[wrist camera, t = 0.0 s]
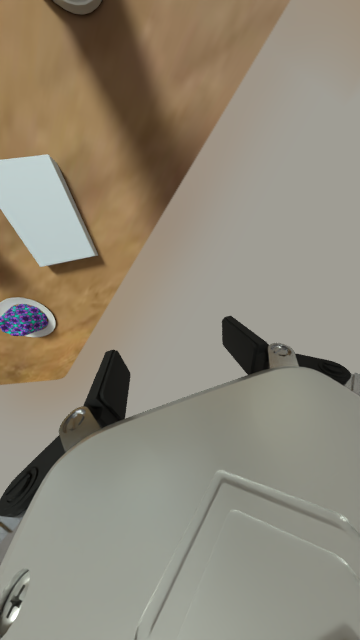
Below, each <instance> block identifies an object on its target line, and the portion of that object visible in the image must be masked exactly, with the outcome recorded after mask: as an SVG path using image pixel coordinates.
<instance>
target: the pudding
mask: <svg viewBox="0 0 360 640" xmlns="http://www.w3.org/2000/svg"><path fill="white" fill-rule="evenodd" d="M16 304H20V305H18V306H13V305H16ZM27 304H29V305H32V307H30V306H28V305H27ZM12 306H13V307H12ZM34 306H35V307H34ZM10 307H11V308H10ZM38 308H39V309H38ZM40 310H42V311H43V312H44V313H45V314H46V315H47V316H46V315H45V314H44V313H42V312H41V311H40ZM47 317H48V320H49V323H48V322H47V321H46V319H47ZM55 324H56V322H55V318H54V316H53V315H52V313H51V312H50V311H49V310H48V309H47V308H46V307H45V306H43V305H41V304H40V303H38V302H36V301H33V300H30V299H26V298H19V297H17V298H8V299H5V300H3V301H2V302H0V328H1V330H2V331H3V332H5V333H9V334H10V335H12V336H28V337H42V336H45V335H48V334H50V333H51V332H52V331H53V330H54V328H55ZM45 326H47V327H46V328H44V329H43V327H45ZM42 329H43V330H42Z"/></svg>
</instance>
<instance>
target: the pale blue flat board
mask: <svg viewBox="0 0 360 640" xmlns="http://www.w3.org/2000/svg"><path fill="white" fill-rule="evenodd" d="M0 209H1V210H2V212H3V213H4V215H5V216H6V217H7V219H8V220H9V222H10V223H11V225H12V226H13V228H14V229H15V231H16V232H17V234H18V235H19V236H20V238H21V239H22V241H23V242H24V244H25V245H26V247H27V248H28V250H29V251H30V253H31V254H32V255H33V257H34V258H35V260H36V261H37V263H38V264H39V266H40V267H42V266H49V265H54V264H59V263H64V262H69V261H74V260H78V259H83V258H88V257H93V256H98V253H97V251H96V249H95V247H94V244H93V242H92V240H91V238H90V236H89V233H88V231H87V229H86V227H85V224H84V222H83V220H82V218H81V216H80V213H79V211H78V209H77V207H76V204H75V202H74V200H73V198H72V196H71V193H70V191H69V189H68V187H67V184H66V182H65V180H64V178H63V176H62V173H61V171H60V169H59V167H58V164H57V163H56V162H55V161H54V160H53V159H52V158H51V157H50V156H49V155H40V156H31V157H22V158H13V159H4V160H0Z"/></svg>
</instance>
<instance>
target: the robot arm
mask: <svg viewBox="0 0 360 640" xmlns="http://www.w3.org/2000/svg"><path fill="white" fill-rule="evenodd" d="M53 1H54V2H55V3H56V4H58V5H59V6H61V7H62V8H63V9H65V10H67V11H70V12H72V13H74V14H87V13H90V12H92V11H93V10H95V9H96V8H97V7H98V6H99V4H100V3H101V1H102V0H53ZM222 335H223V337H222V340H223V345H224V347H225V348H226V349H227V350H228V352H229V353H230V354H231V355H232V356H233V357H234V359H235V360H236V361H237V362H238V363H239V365H240V366H241V367H242V368H243V370H244V371H245V372H246V373H247V374H248V375H247V376H244V377H241V378H238V379H236V380H233V381H230V382H227V383H224V384H221V385H218V386H215V387H213V388H209V389H207V390H204V391H201V392H198V393H195V394H192V395H190V396H187V397H184V398H181V399H178V400H176V401H173V402H170V403H167V404H165V405H162V406H159V407H156V408H153V409H150V410H148V411H145V412H142V413H140V414H137V415H134V416H132V417H129V418H126V419H125V413H126V405H127V397H128V390H129V382H130V372H129V370H128V368H127V366H126V365H125V363H124V361H123V359H122V358H121V356H120V354H119V353H118V351H115V350H110V351H107V352H106V353H105V355H104V358H103V360H102V363H101V365H100V368H99V370H98V372H97V374H96V377H95V379H94V381H93V384H92V386H91V389H90V391H89V394H88V396H87V399H86V401H85V403H84V406H82V407H79V408H77V409H75V410H73V411H72V412H71V413H70V414H69V415H68V416H67V417H66V418H65V419H64V421H63V422H62V424H61V425H60V428H59V436H58V437H57V438H56V439H55V440H54V441H53V442H52V443H51V444H50V445H49V446H48V447H46V448H45V450H43V451H42V452H41V453H40V454H39V455H38V456H37V457H36V458H35V459H34V460H33V461H32V462H31V463H30V464H29V465H28V466H27V467H26V468H25V469H24V470H23V471H22V472H21V473H20V474H19V475H18V476H17V477H16V478H15V479H14V480H13V481H12V482H11V484H10V485H9V486H8V488H7V489H6V490H5V492H4V494H3V496H2V497H1V499H0V640H360V374H357V373H355V374H351V373H350V372H349V371H348V370H347V369H346V368H345V367H343V366H342V365H340V364H338V363H335V362H332V361H329V360H324V359H319V358H314V357H310V356H305V355H300V354H295V352H294V351H293V349H292V348H290V347H289V346H287V345H284V344H281V343H273V344H270V345H268V344H267V343H266V342H265V341H264V340H263V339H261V338H260V337H258V336H257V335H256V334H254V333H253V332H252V331H251V330H249V329H248V328H247V327H245V326H244V325H243V324H241V323H240V322H238V321H237V320H236V319H234V318H233V317H232V316H228V317H225V318H224V319H223V320H222Z"/></svg>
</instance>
